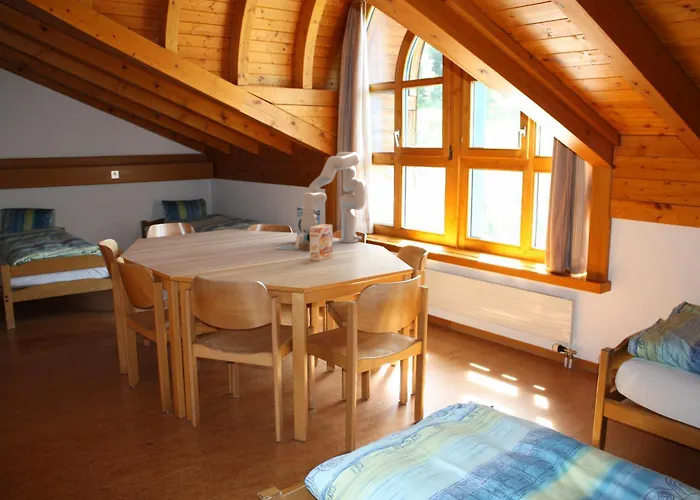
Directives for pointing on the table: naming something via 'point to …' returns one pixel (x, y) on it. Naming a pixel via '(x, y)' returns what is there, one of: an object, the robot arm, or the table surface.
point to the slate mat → (288, 247)
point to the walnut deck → (305, 246)
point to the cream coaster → (299, 240)
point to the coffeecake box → (320, 242)
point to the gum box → (299, 217)
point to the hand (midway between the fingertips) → (309, 240)
